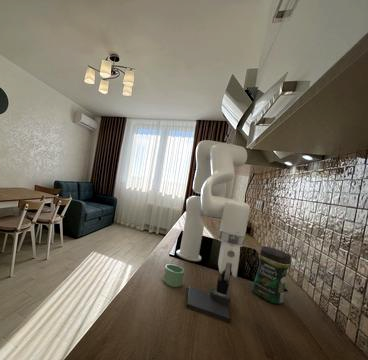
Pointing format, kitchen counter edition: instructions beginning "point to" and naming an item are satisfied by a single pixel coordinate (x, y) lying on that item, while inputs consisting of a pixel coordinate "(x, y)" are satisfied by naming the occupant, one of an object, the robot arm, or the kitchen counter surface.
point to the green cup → (173, 275)
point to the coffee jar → (271, 274)
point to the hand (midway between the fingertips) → (221, 292)
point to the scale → (209, 303)
